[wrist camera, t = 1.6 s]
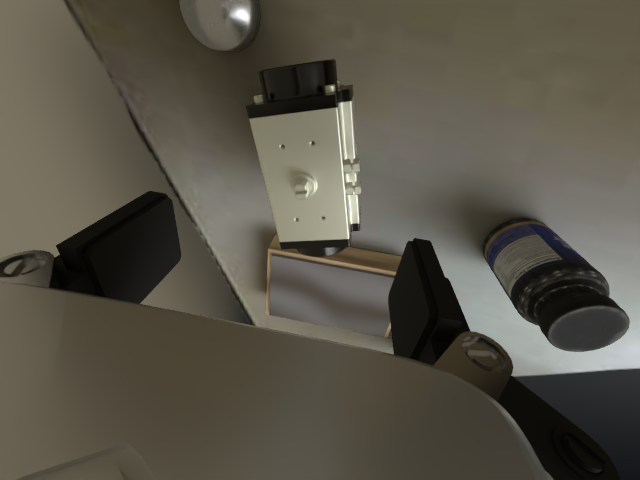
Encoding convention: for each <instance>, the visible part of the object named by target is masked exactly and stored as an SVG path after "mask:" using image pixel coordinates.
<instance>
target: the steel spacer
mask: <svg viewBox="0 0 640 480" xmlns="http://www.w3.org/2000/svg"><path fill="white" fill-rule="evenodd" d="M179 4H180V9H181V13H182V16H183V18H184V21H185V23H186V25H187V27H188V28H189V30H190V31H191V33H192V34H193V35H194V37H195V38H196V39H197V40H198V41H199V42H201V43H202V44H203V45H205V46H207V47H208V48H211V49H214V50H221V51H240V50H243V49H245V48H246V47H248V46H249V45H250V44H251V43H252V42H253V41H254V39H255V37H256V35H257V33H258V30H259V26H260V17H261V16H260V5H259V1H258V0H179Z"/></svg>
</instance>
